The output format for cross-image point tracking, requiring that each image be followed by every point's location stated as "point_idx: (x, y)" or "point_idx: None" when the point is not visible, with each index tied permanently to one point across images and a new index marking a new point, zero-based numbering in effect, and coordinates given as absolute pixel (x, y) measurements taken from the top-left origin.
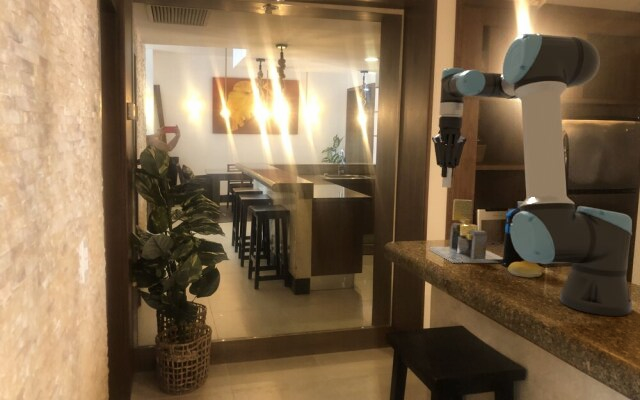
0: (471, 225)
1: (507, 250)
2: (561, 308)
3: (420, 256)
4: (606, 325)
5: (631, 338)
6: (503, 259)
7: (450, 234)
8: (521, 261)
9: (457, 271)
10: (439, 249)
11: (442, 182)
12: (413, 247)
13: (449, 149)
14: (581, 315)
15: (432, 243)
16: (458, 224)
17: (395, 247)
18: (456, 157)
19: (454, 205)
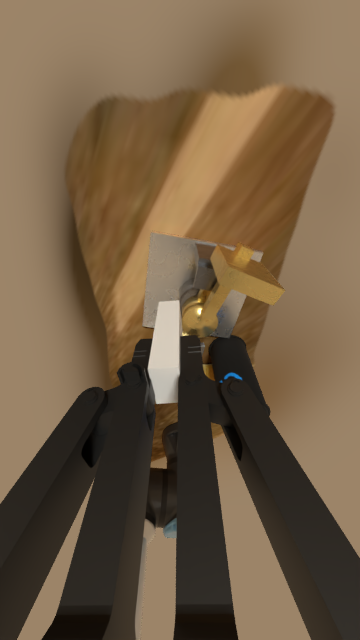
0: (203, 327)
1: (212, 366)
2: (156, 432)
3: (108, 276)
4: (160, 449)
5: (158, 458)
6: (212, 349)
7: (197, 250)
8: (210, 378)
9: (127, 354)
10: (158, 260)
11: (157, 314)
12: (125, 191)
13: (179, 574)
14: (159, 440)
15: (204, 145)
16: (203, 284)
17: (78, 182)
18: (243, 471)
19: (216, 275)
